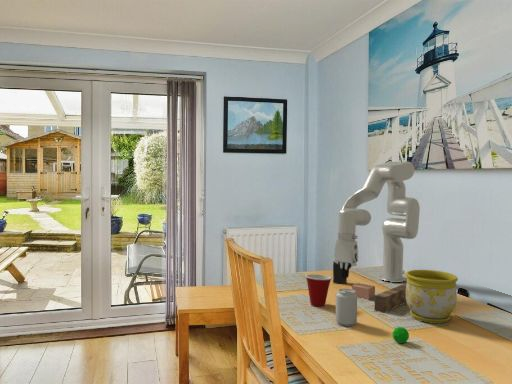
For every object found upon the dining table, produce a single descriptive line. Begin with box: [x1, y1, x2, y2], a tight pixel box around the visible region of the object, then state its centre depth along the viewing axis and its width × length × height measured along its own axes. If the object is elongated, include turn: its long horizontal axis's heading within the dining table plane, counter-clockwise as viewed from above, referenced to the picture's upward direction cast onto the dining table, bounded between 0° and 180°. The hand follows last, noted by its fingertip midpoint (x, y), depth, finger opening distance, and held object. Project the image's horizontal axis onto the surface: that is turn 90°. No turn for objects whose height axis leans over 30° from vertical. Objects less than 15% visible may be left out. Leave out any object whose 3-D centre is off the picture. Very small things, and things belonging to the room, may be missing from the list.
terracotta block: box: [351, 282, 376, 300], centre depth 192 cm, size 6×8×5 cm
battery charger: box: [332, 259, 348, 284], centre depth 216 cm, size 7×4×11 cm, turn 83°
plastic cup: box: [304, 273, 333, 308], centre depth 179 cm, size 11×11×12 cm
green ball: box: [392, 326, 410, 344], centre depth 140 cm, size 5×5×5 cm
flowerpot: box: [405, 269, 459, 324], centre depth 164 cm, size 18×18×16 cm
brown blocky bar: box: [374, 282, 407, 313], centre depth 181 cm, size 28×4×6 cm, turn 137°
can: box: [334, 288, 358, 327], centre depth 157 cm, size 8×8×12 cm
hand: (344, 277), depth 197 cm, fingers closed
